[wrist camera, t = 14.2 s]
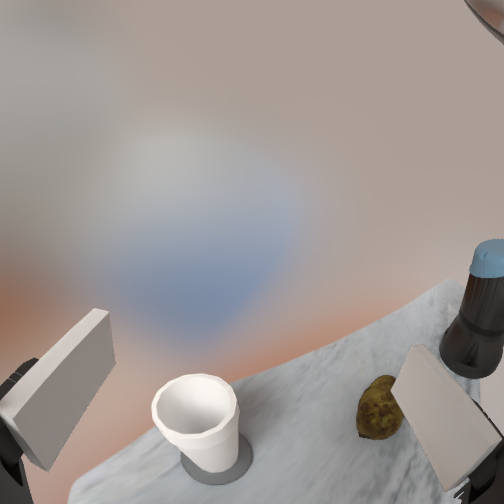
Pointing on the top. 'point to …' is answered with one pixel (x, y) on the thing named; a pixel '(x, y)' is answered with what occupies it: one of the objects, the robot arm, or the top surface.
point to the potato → (379, 410)
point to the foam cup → (200, 419)
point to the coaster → (225, 476)
